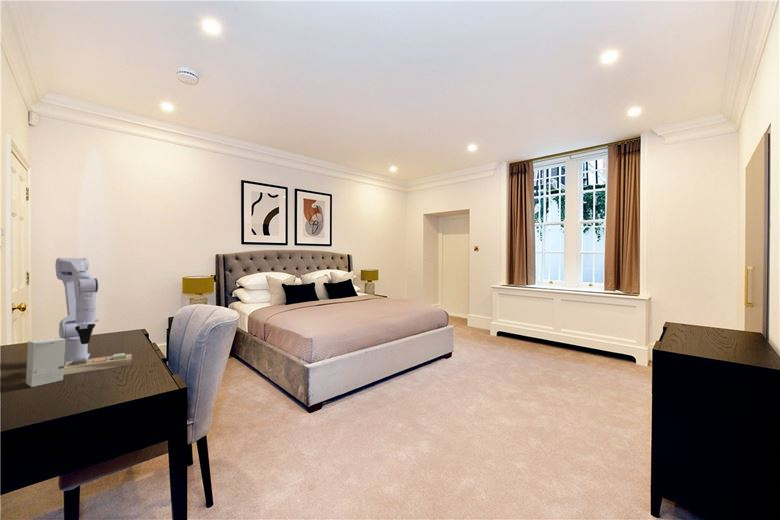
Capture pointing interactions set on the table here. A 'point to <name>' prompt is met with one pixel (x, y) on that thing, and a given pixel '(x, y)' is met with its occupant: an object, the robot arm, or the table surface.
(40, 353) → the skincare box
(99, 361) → the key terracotta
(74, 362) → the key charcoal
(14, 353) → the table surface
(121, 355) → the key sage
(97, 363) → the keypad
